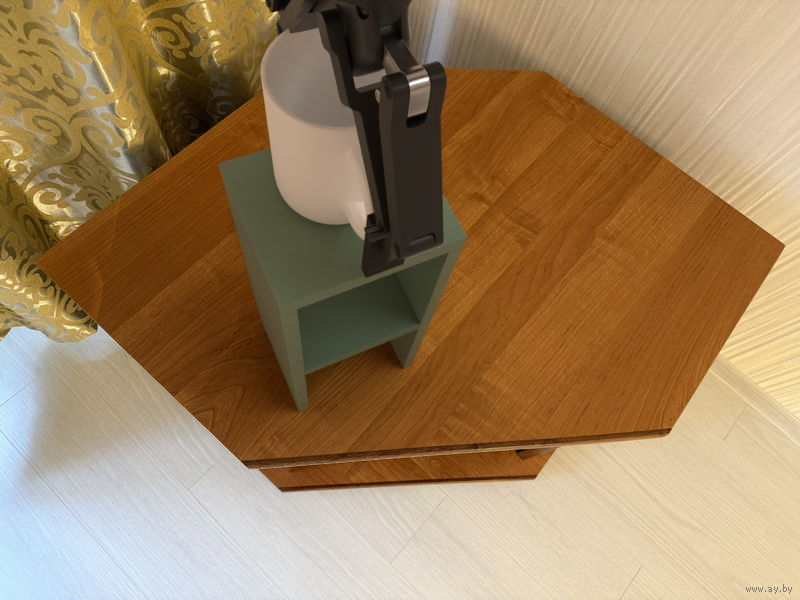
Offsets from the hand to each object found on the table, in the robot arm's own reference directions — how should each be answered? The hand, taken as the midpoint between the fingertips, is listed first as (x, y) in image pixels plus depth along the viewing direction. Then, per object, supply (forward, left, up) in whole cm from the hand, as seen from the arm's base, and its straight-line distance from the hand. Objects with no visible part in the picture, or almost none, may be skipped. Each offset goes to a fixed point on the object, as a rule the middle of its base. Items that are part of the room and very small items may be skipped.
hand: (343, 188), depth 41 cm
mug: (0, 0, -2) cm, 2 cm away
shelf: (0, 0, -32) cm, 32 cm away
